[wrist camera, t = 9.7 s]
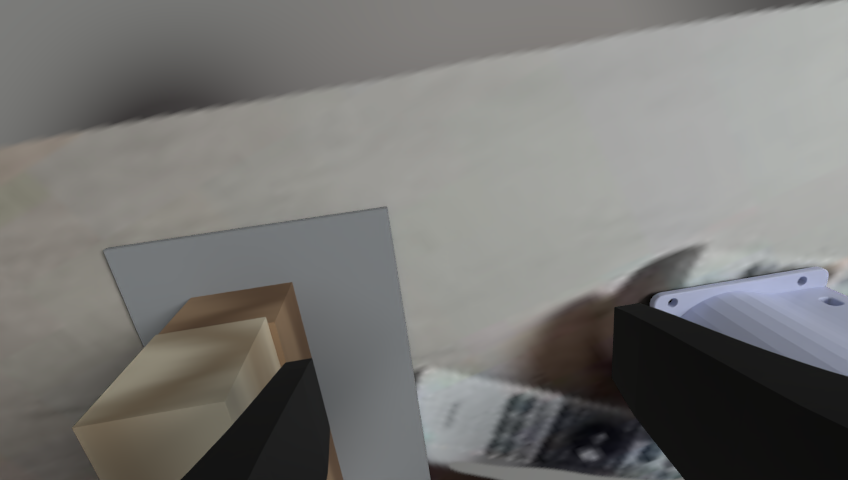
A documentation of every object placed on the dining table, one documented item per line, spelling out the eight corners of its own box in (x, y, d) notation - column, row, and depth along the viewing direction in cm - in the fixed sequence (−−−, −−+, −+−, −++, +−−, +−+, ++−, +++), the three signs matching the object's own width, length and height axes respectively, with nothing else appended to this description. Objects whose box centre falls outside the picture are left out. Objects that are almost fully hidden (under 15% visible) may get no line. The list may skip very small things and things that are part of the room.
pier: (292, 281, 19) (274, 322, 16) (313, 364, 20) (301, 416, 17) (190, 297, 19) (151, 342, 15) (219, 380, 20) (190, 436, 17)
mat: (386, 206, 19) (387, 208, 18) (433, 497, 25) (434, 502, 25) (107, 247, 18) (103, 250, 18) (227, 536, 24) (225, 542, 24)
